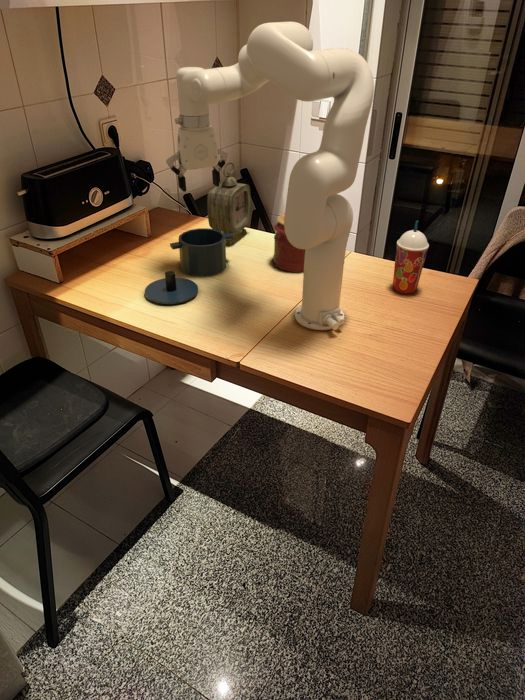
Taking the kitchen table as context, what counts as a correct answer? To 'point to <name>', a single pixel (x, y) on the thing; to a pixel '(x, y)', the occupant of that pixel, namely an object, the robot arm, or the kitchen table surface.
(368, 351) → the kitchen table surface
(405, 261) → the smoothie
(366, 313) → the kitchen table surface
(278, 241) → the kitchen canister
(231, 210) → the tabletop clock
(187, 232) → the pot
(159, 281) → the lid
